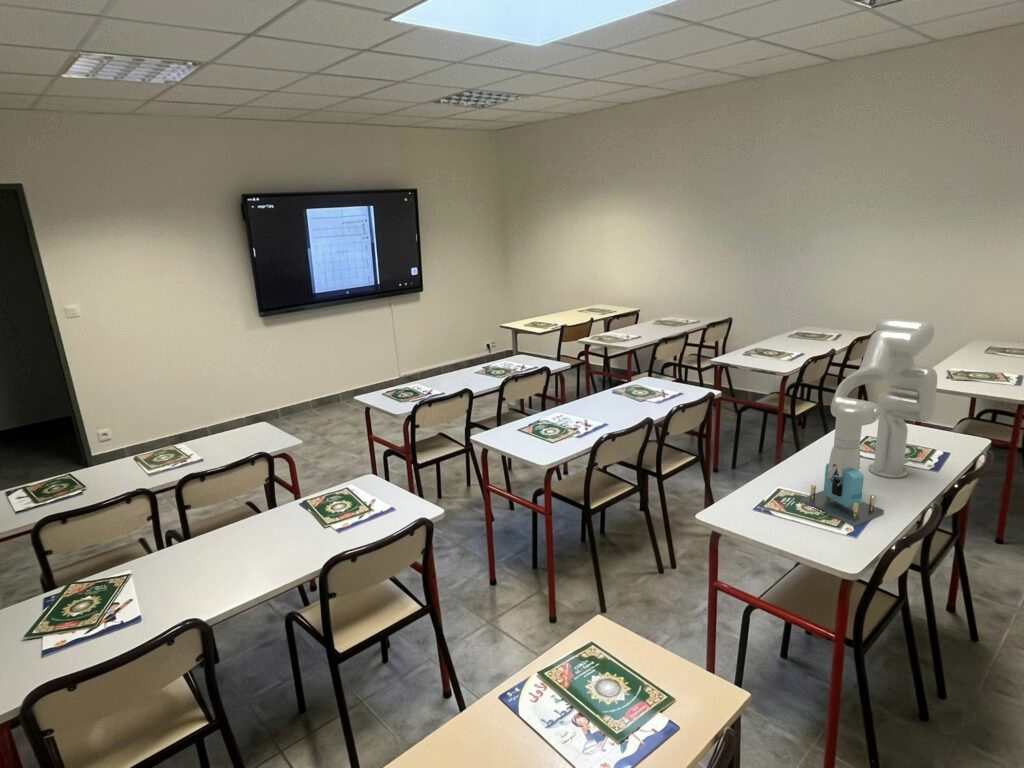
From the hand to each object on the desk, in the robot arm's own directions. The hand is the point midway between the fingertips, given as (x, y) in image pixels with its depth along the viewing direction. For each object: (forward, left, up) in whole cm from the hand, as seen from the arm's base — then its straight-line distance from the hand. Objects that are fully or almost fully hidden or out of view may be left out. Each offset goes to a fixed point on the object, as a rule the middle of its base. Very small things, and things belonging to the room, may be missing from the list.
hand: (842, 492), depth 205 cm
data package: (0, 0, -3) cm, 3 cm away
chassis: (0, 0, -6) cm, 6 cm away
